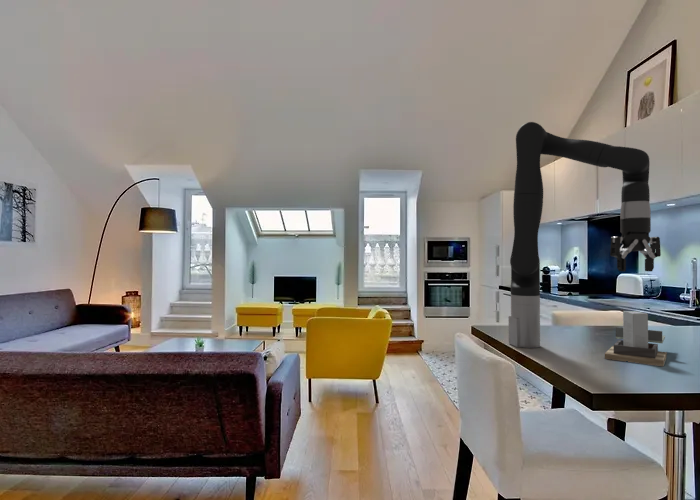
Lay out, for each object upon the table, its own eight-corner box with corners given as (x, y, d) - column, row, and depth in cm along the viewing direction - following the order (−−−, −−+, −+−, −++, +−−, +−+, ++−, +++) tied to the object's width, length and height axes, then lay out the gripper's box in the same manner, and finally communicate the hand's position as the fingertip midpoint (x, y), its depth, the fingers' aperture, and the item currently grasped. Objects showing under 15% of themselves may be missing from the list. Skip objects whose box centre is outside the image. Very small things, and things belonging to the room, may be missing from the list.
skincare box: (649, 354, 123) (648, 313, 123) (633, 354, 123) (632, 313, 123) (637, 350, 129) (637, 310, 129) (622, 349, 129) (622, 310, 129)
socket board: (663, 366, 116) (663, 351, 116) (604, 358, 125) (604, 345, 125) (666, 357, 127) (666, 343, 127) (612, 350, 136) (612, 338, 136)
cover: (662, 343, 127) (662, 331, 127) (615, 338, 135) (615, 327, 135) (665, 337, 136) (664, 326, 136) (621, 333, 144) (621, 322, 144)
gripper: (647, 218, 131) (647, 271, 130) (604, 218, 130) (604, 270, 129) (667, 216, 123) (667, 271, 123) (622, 215, 122) (622, 271, 122)
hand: (635, 271), depth 126 cm, fingers open, 8 cm apart
